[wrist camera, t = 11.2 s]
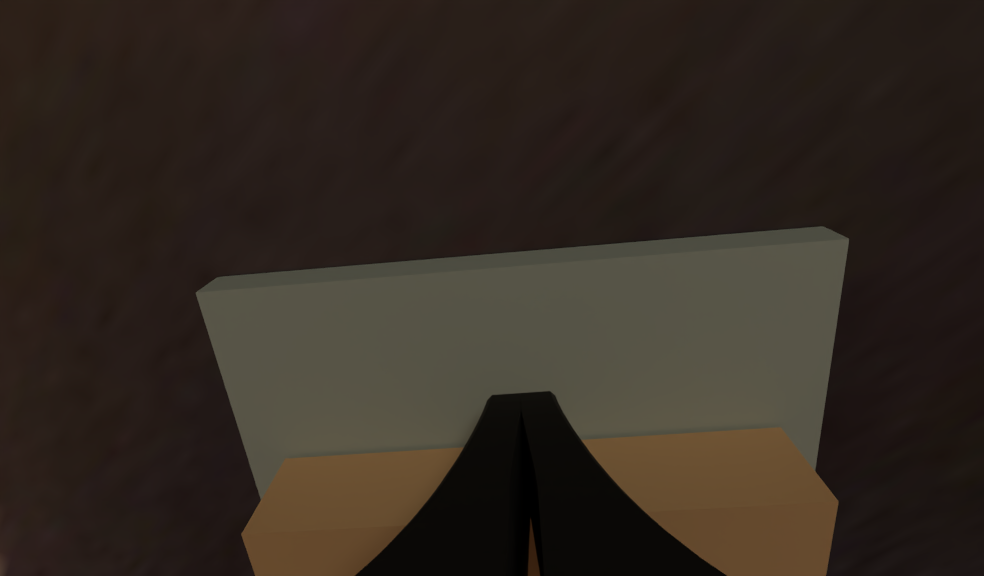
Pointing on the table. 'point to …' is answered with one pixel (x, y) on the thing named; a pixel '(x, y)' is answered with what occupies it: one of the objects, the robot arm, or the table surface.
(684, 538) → the block
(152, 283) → the table surface
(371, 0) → the table surface
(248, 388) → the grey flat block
